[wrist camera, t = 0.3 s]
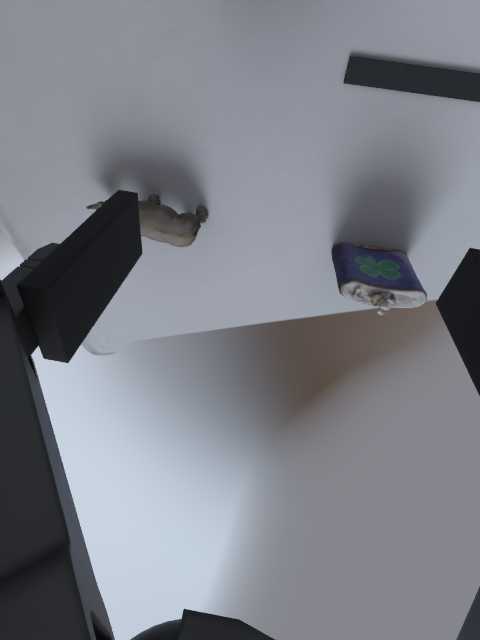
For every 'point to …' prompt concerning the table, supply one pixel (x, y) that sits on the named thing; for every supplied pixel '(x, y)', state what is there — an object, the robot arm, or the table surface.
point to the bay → (413, 79)
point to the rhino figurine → (166, 222)
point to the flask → (377, 277)
